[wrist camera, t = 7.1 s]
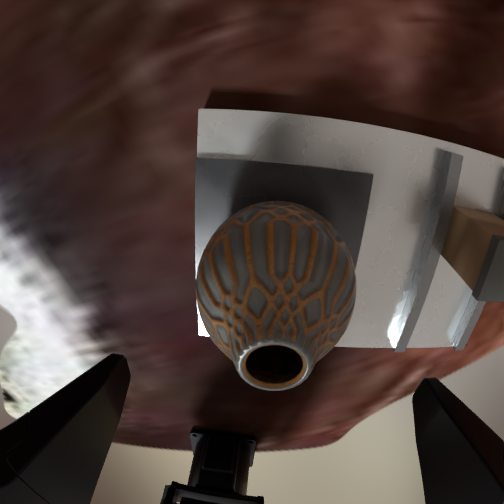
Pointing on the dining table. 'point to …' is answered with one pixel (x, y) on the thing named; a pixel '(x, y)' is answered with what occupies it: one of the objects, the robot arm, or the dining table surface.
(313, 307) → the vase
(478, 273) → the brown block
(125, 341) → the dining table surface
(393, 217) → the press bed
